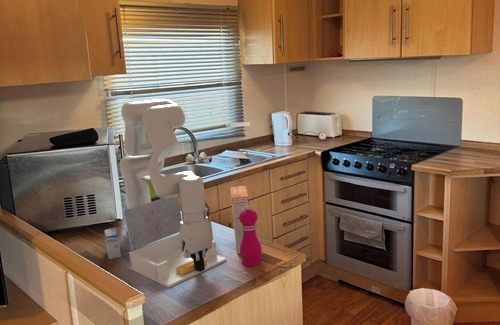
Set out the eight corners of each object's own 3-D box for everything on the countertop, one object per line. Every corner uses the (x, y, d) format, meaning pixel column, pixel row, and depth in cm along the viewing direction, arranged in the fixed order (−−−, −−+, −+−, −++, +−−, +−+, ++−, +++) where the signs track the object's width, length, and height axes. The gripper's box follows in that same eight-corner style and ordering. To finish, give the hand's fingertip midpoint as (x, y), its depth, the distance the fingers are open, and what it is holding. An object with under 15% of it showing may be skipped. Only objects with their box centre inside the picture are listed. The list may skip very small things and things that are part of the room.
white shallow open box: (130, 268, 160) (127, 252, 158) (186, 245, 176) (185, 230, 175) (168, 287, 144) (166, 269, 143) (226, 260, 161) (225, 243, 159)
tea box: (136, 203, 234) (132, 174, 231) (154, 198, 241) (150, 170, 237) (152, 209, 223) (148, 178, 220) (170, 203, 230) (167, 174, 226)
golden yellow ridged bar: (174, 272, 152) (174, 266, 152) (201, 260, 160) (200, 255, 160) (182, 276, 150) (181, 270, 149) (208, 263, 157) (208, 258, 157)
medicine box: (106, 251, 176) (103, 229, 174) (119, 249, 177) (116, 227, 175) (108, 259, 169) (105, 236, 167) (121, 257, 170) (118, 234, 168)
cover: (132, 249, 158) (131, 249, 159) (183, 230, 173) (182, 230, 174) (124, 210, 157) (123, 210, 157) (176, 194, 172) (175, 194, 172)
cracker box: (234, 239, 178) (230, 186, 174) (250, 238, 179) (246, 184, 174) (236, 255, 165) (231, 197, 160) (253, 253, 165) (249, 195, 160)
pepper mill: (236, 263, 158) (231, 206, 154) (251, 256, 163) (247, 200, 158) (251, 269, 153) (247, 210, 148) (267, 261, 158) (263, 204, 153)
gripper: (204, 207, 156) (209, 259, 160) (167, 220, 145) (173, 275, 149) (220, 211, 150) (224, 264, 154) (182, 225, 140) (188, 282, 144)
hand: (199, 269), depth 152 cm, fingers closed
